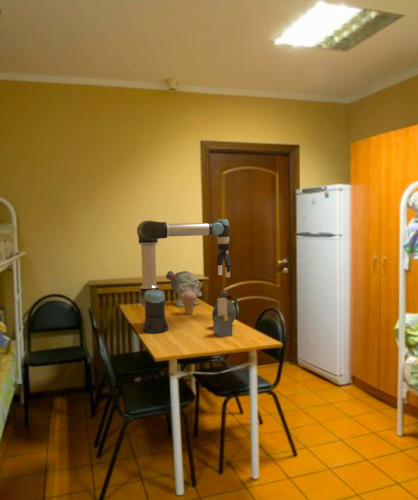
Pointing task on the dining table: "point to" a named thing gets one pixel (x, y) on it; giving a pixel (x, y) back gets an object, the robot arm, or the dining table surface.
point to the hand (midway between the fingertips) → (224, 276)
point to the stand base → (222, 326)
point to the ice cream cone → (188, 301)
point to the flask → (230, 308)
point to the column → (222, 307)
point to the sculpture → (184, 284)
